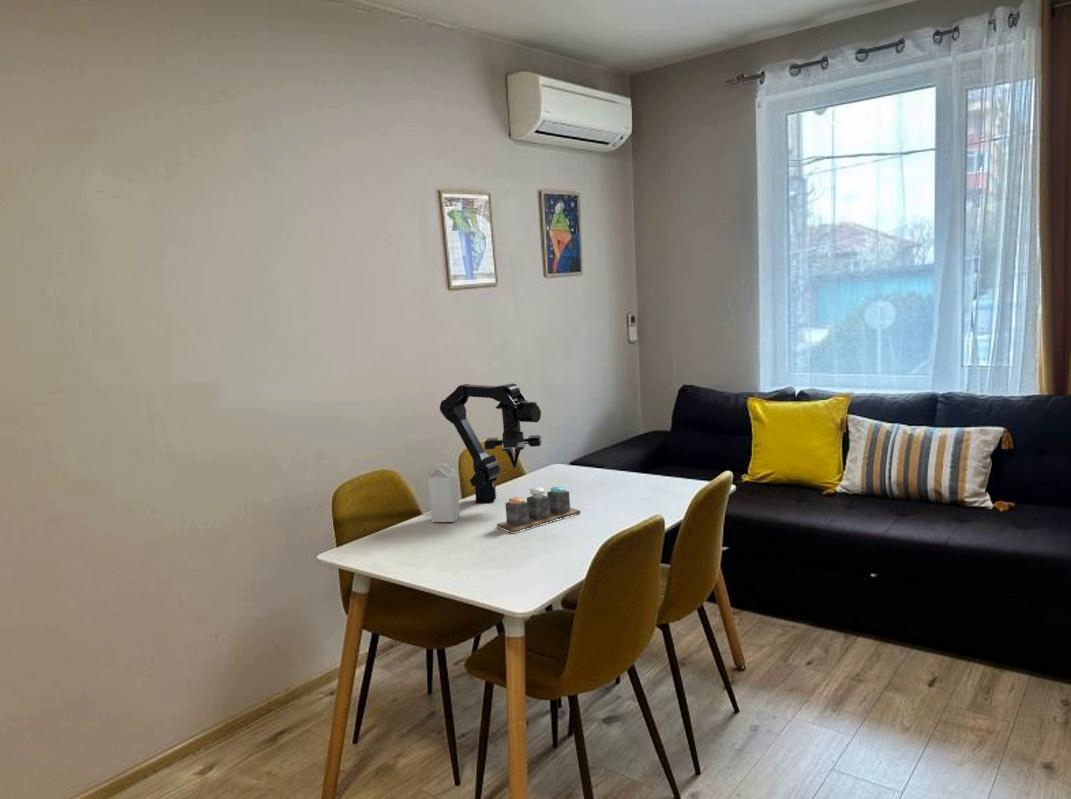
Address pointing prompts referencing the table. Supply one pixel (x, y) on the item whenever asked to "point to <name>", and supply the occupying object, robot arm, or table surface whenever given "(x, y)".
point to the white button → (537, 492)
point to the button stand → (537, 511)
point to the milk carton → (444, 494)
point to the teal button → (557, 490)
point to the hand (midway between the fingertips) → (515, 467)
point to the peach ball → (516, 501)
